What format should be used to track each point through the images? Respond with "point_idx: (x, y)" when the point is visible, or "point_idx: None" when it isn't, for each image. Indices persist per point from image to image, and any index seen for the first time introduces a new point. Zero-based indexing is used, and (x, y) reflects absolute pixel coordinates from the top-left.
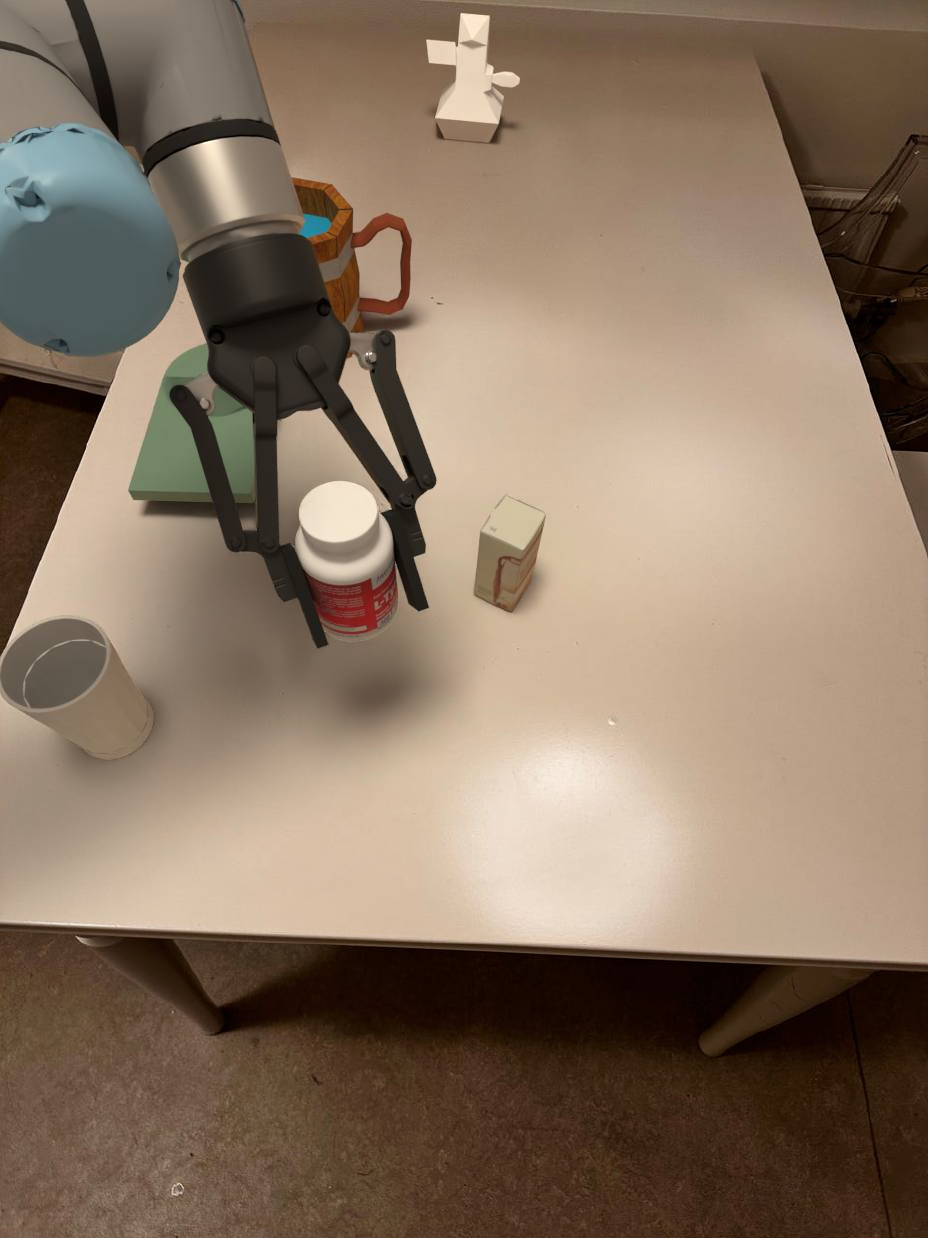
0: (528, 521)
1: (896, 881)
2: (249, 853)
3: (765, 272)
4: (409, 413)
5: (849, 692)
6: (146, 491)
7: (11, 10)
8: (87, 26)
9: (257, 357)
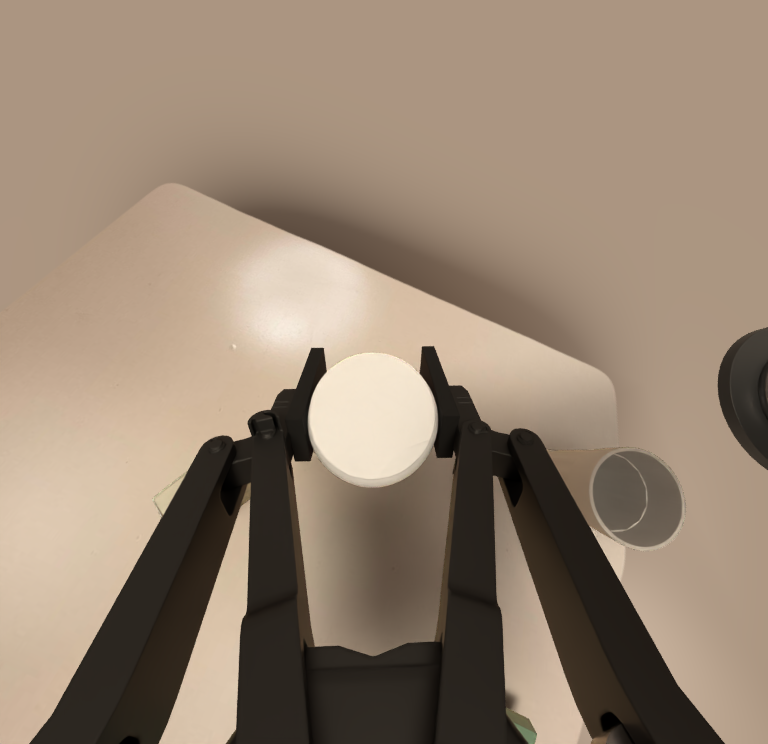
0: (174, 494)
1: (147, 207)
2: (479, 356)
3: None
4: (143, 564)
5: (74, 303)
6: (518, 723)
7: None
8: None
9: None
